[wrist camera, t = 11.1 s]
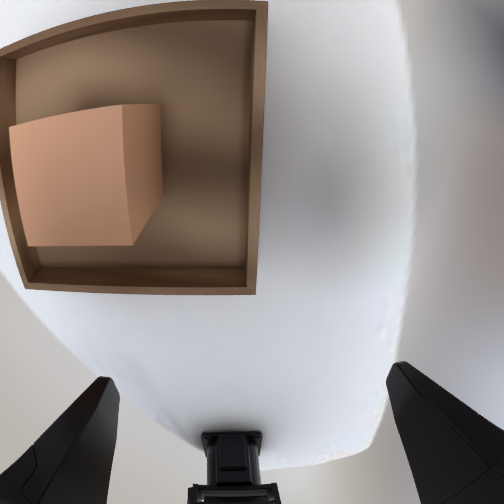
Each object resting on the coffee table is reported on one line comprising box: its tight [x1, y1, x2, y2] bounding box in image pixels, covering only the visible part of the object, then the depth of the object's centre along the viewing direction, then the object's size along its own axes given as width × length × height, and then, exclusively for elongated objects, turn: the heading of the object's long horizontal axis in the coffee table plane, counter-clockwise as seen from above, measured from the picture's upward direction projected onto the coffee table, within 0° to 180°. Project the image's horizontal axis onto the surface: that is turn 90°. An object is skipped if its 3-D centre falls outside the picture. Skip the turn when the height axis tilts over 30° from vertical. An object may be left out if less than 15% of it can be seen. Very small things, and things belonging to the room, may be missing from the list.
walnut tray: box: [0, 0, 268, 295], centre depth 14 cm, size 15×15×2 cm
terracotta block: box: [9, 104, 164, 246], centre depth 12 cm, size 5×5×6 cm
